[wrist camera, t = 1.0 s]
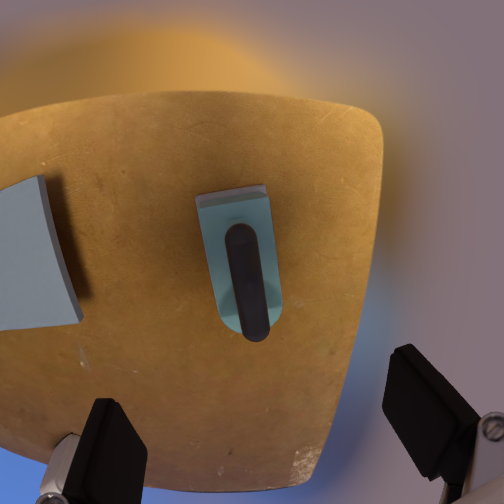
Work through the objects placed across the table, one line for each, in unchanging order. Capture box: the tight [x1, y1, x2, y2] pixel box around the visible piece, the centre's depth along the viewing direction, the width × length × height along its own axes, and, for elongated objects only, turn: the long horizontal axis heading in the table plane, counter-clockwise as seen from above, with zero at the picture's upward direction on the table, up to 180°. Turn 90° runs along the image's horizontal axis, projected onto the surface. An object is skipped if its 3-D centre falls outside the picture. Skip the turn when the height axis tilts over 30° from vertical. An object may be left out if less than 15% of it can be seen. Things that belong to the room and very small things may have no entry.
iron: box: [195, 184, 283, 342], centre depth 23 cm, size 12×6×9 cm, turn 8°
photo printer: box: [40, 434, 80, 495], centre depth 28 cm, size 10×4×12 cm, turn 134°
